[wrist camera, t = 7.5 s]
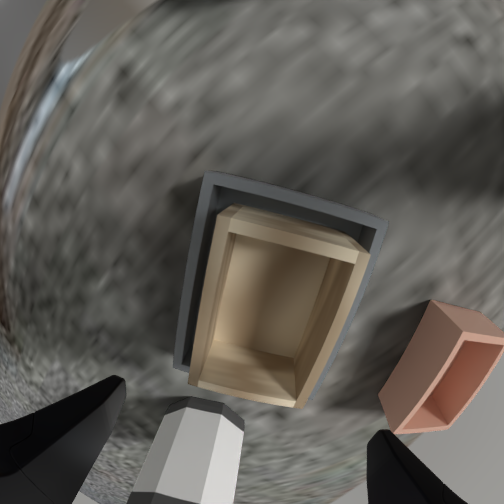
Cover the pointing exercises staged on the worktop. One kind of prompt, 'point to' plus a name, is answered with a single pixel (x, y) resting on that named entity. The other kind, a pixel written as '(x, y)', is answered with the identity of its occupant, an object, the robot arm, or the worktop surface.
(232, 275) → the birch crate
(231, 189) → the charcoal crate
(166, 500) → the wine bottle
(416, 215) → the worktop surface
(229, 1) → the worktop surface
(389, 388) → the terracotta crate
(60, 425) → the robot arm
